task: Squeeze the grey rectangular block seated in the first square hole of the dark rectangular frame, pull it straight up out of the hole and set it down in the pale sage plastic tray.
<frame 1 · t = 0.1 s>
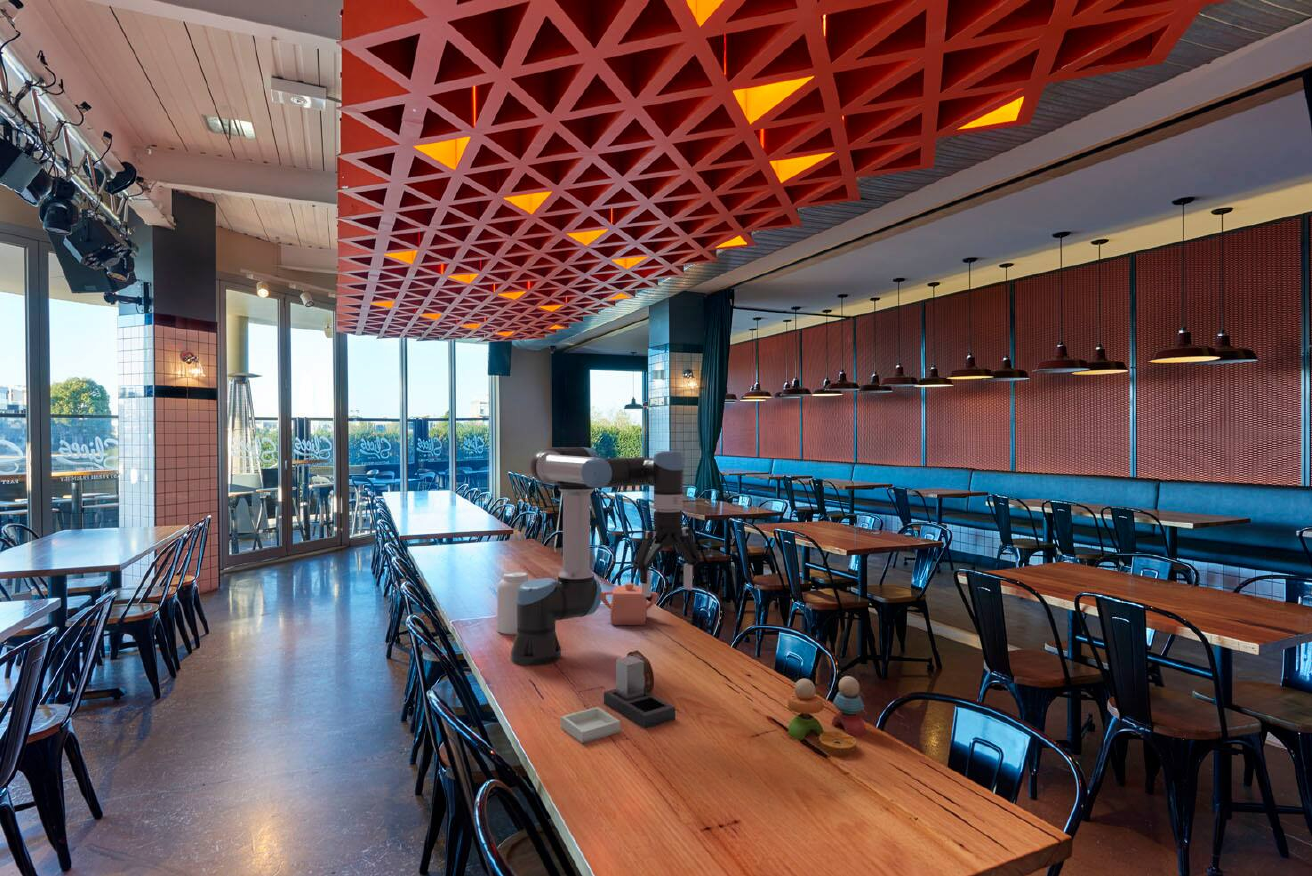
hand: (667, 592, 169), 28 cm above the table, fingers open, 13 cm apart
tin: (639, 686, 179), on the table
grey rectangular block: (629, 704, 165), resting on dark rectangular frame
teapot: (629, 619, 246), on the table
dark rectangular frame: (638, 711, 162), on the table
white bottle: (515, 630, 230), on the table
wooden stacking toy: (835, 738, 149), on the table
tray: (590, 729, 151), on the table
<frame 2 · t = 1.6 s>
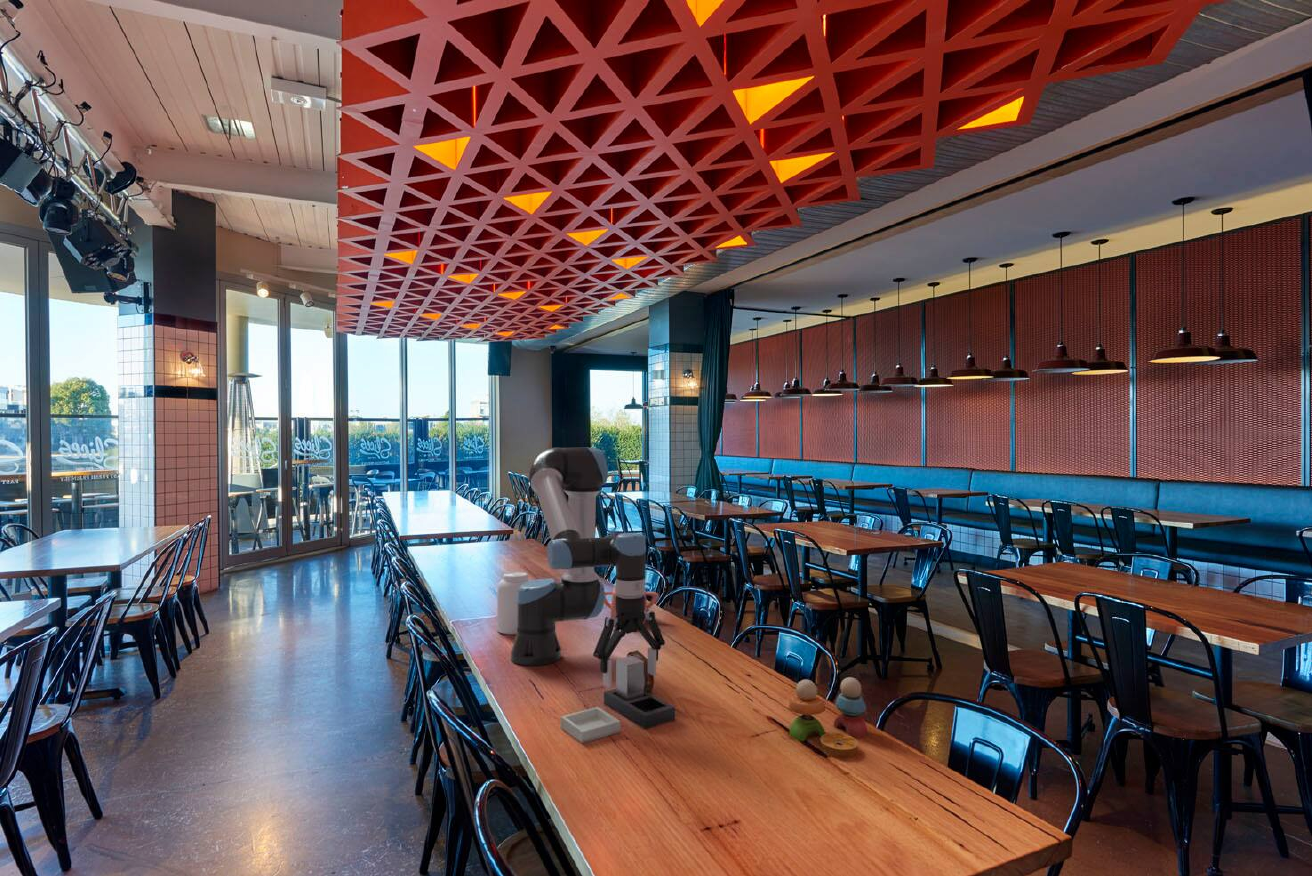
hand: (629, 679, 165), 7 cm above the table, fingers open, 13 cm apart
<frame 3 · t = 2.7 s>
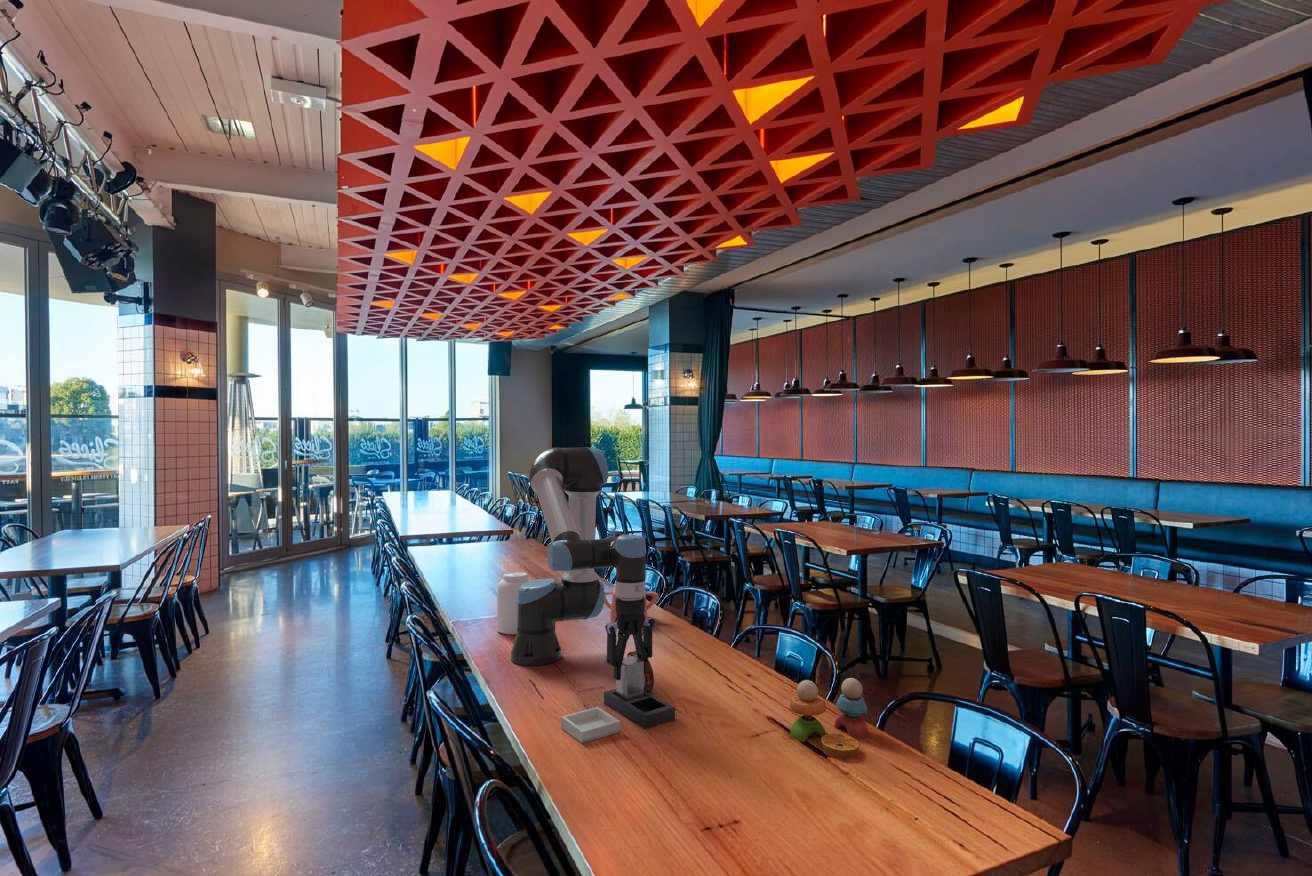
hand: (629, 689, 165), 4 cm above the table, fingers closed on grey rectangular block, 5 cm apart
grey rectangular block: (629, 704, 165), point 1 cm above the table, touching gripper, dark rectangular frame
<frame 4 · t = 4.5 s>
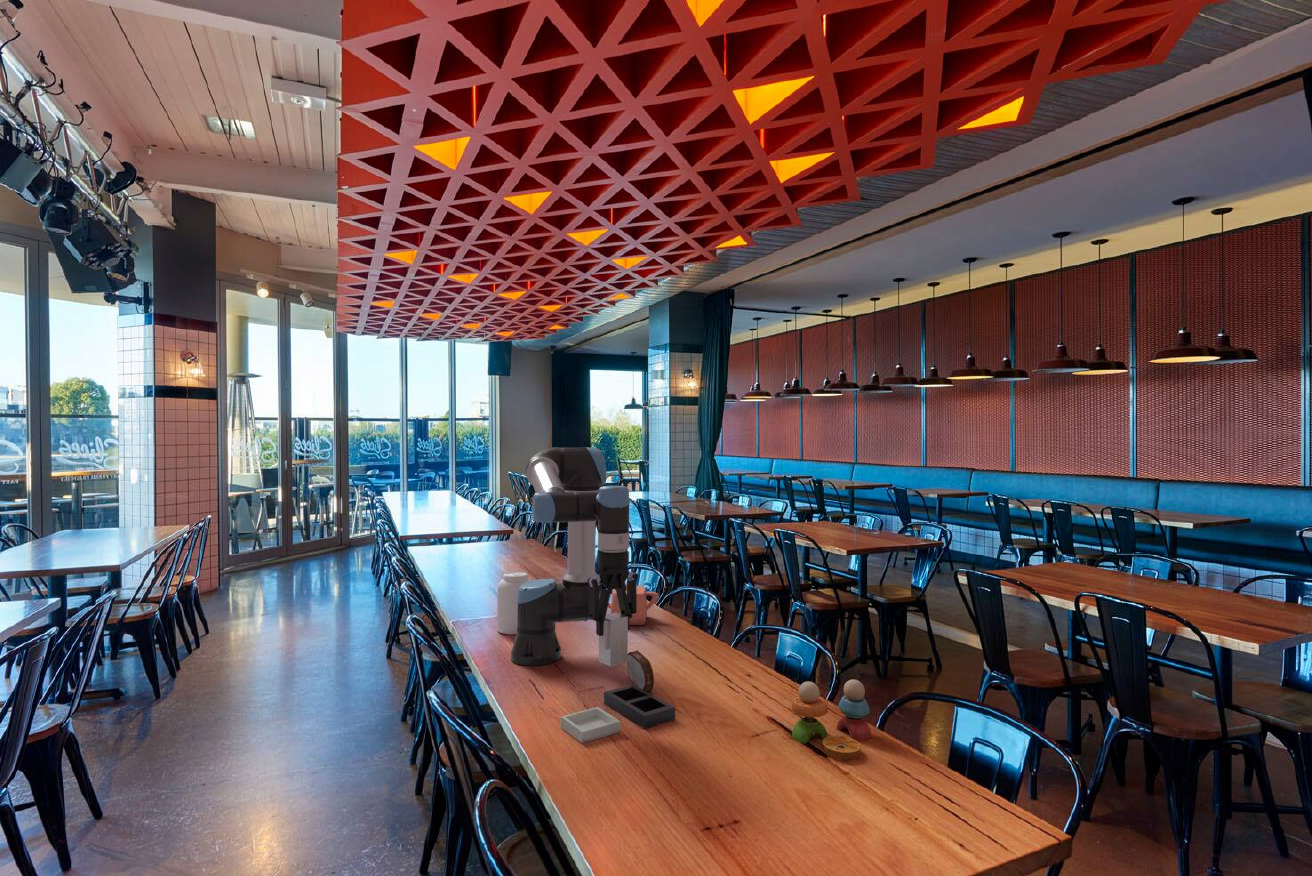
hand: (612, 646, 158), 17 cm above the table, fingers closed on grey rectangular block, 5 cm apart
grey rectangular block: (613, 661, 158), point 14 cm above the table, touching gripper
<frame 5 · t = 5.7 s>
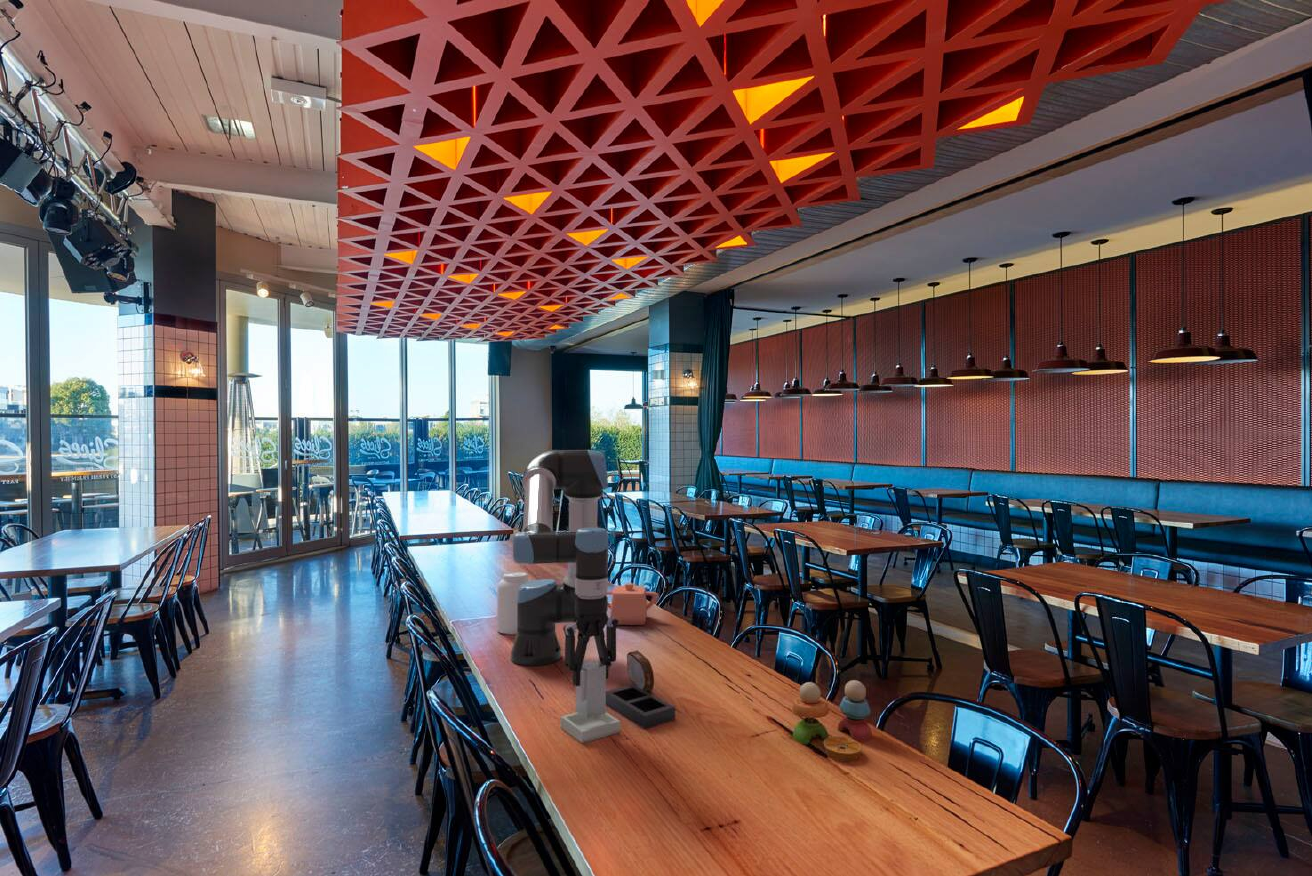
hand: (590, 696, 151), 8 cm above the table, fingers closed on grey rectangular block, 5 cm apart
grey rectangular block: (590, 712, 151), point 4 cm above the table, touching gripper
when the fingers open (6 cm above the table, at t = 6.5 s): grey rectangular block drops 1 cm, resting on tray.
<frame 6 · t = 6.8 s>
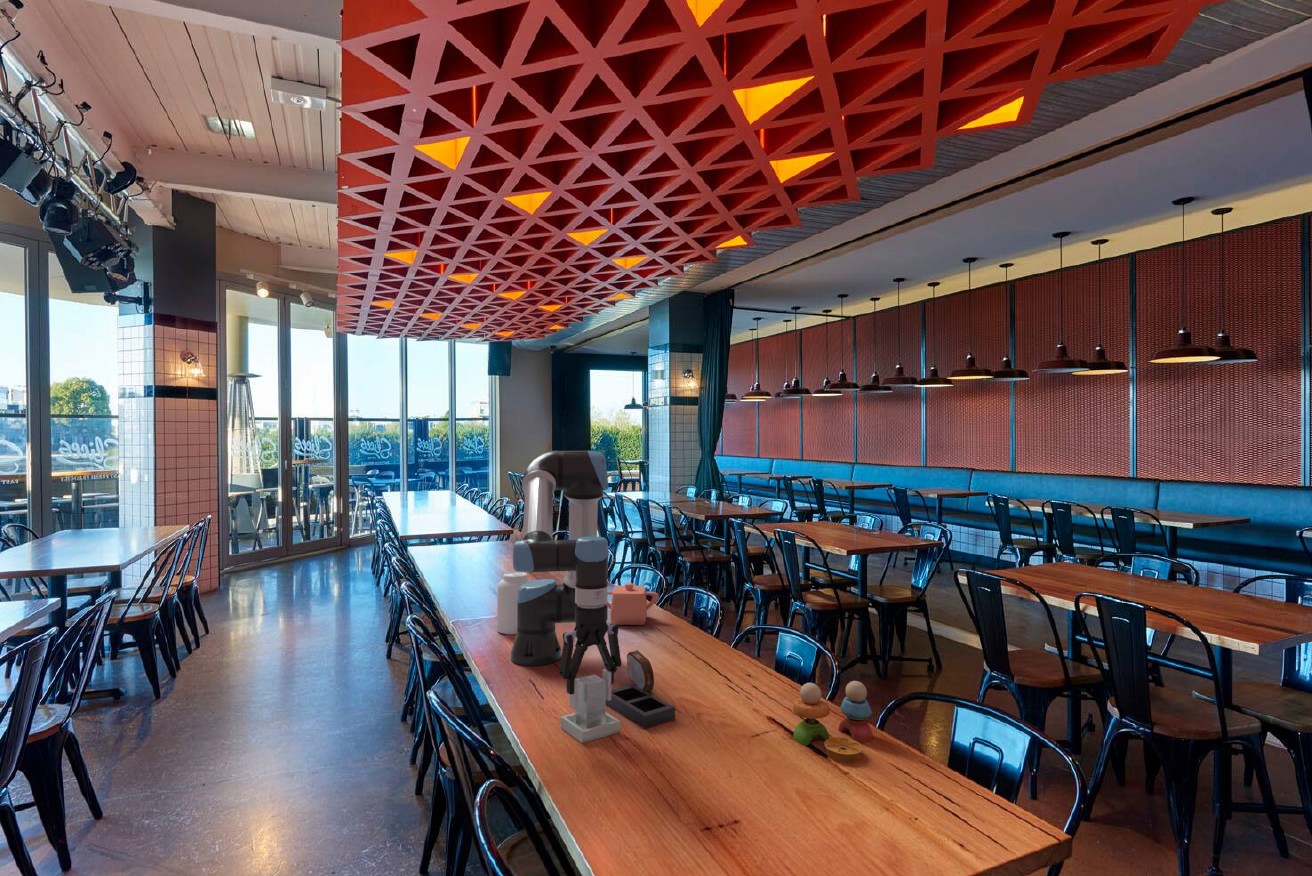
hand: (590, 702, 151), 6 cm above the table, fingers open, 8 cm apart
grey rectangular block: (590, 727, 151), point 1 cm above the table, touching tray
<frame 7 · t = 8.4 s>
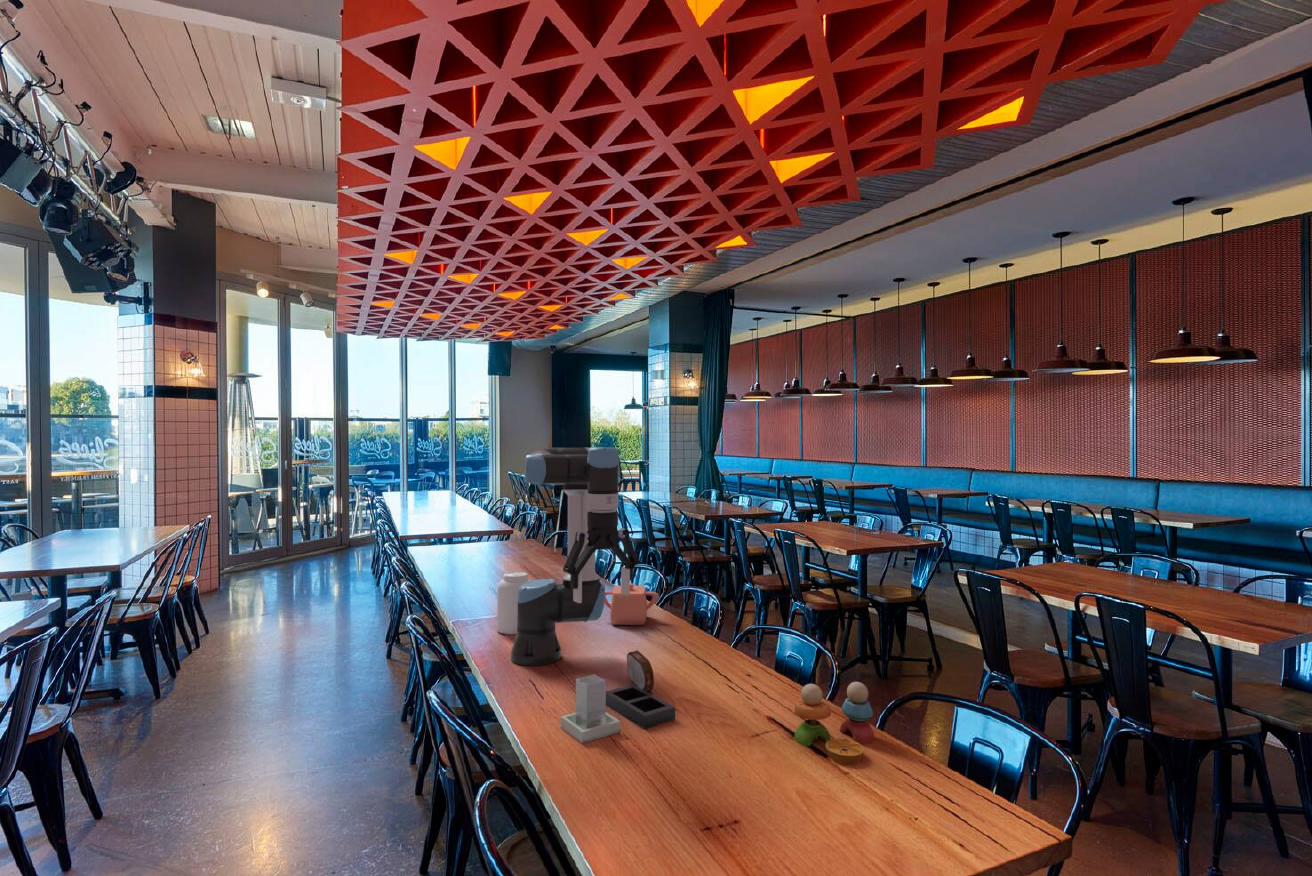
hand: (602, 598, 159), 29 cm above the table, fingers open, 13 cm apart
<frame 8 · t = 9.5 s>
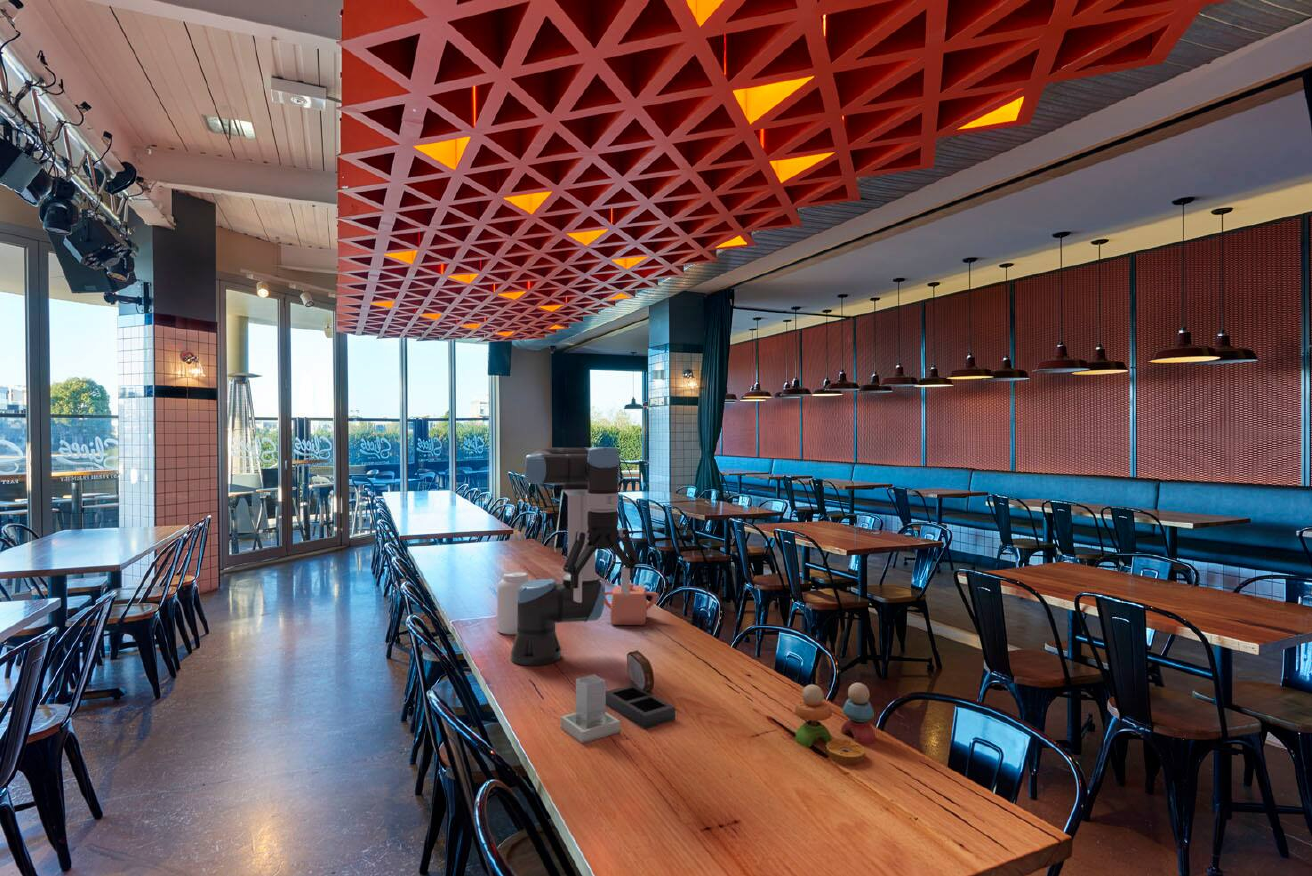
hand: (602, 597, 159), 29 cm above the table, fingers open, 13 cm apart
at the end: grey rectangular block inside the target area on the tray (0.0 cm from its centre), point 0.6 cm above the tray's base; grey rectangular block tilted 0°; the gripper is holding nothing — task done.
